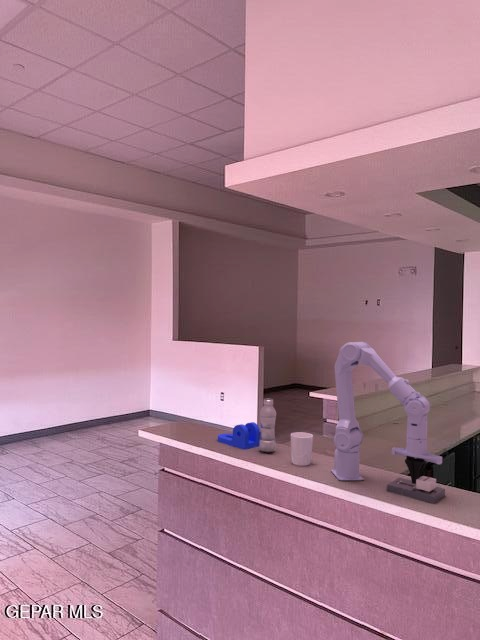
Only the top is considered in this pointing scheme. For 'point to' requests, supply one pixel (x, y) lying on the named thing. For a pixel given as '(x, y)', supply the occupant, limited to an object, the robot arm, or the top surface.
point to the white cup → (301, 448)
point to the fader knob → (426, 483)
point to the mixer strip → (415, 490)
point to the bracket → (242, 436)
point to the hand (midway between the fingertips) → (415, 483)
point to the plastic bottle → (267, 427)
